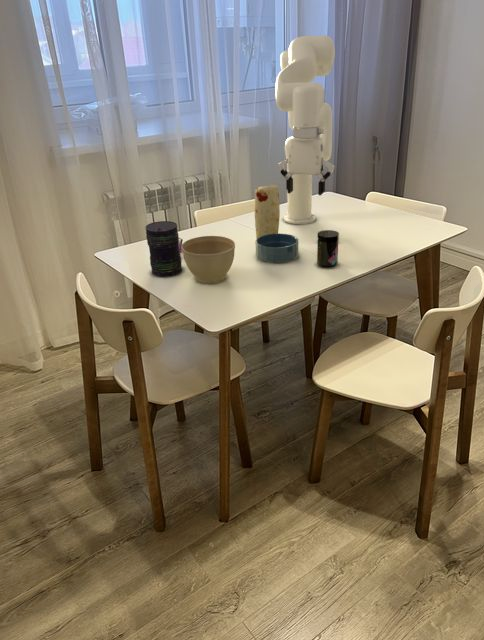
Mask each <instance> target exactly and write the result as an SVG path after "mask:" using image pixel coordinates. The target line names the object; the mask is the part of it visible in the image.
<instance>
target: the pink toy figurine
mask: <svg viewBox="0 0 484 640" xmlns="http://www.w3.org/2000/svg"><path fill="white" fill-rule="evenodd" d="M178 239H179V243H178V245H179V253H180V254H181V253H183V251H182V248H181V246H182V244H183V238H182V237H179V236H178Z"/></svg>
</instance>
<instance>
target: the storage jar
mask: <svg viewBox="0 0 484 640" xmlns="http://www.w3.org/2000/svg"><path fill="white" fill-rule="evenodd" d="M145 236H146V237H145V238H146V241H147V242H146V243H147V246H148V250H149V265H150V268H151V274H152V275H153V276H154V277H157V278H170V277H176V276H178V275H180V274H181V273H182V272H183V267H182V263H183V261H182V258H181V257H182V256H181V253H179V245H178V243H179V239H178V237H179V232H178V224H177V223H176V222H174V221H170V220H161V221H155V222H151V223H148V224H147V225H145Z"/></svg>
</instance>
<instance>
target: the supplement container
mask: <svg viewBox="0 0 484 640" xmlns="http://www.w3.org/2000/svg"><path fill="white" fill-rule="evenodd" d="M316 239H317V241H316V242H317V243H316V244H317V245H316V246H317V247H316V264H317V266H318V267H320V268H321V269H332V268H335V267H337V266H338V262H339V243H340V242H339V240H340V233H339V232H338V231H337V230H332V229H325V230H320V231H318V232H317V237H316Z"/></svg>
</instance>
